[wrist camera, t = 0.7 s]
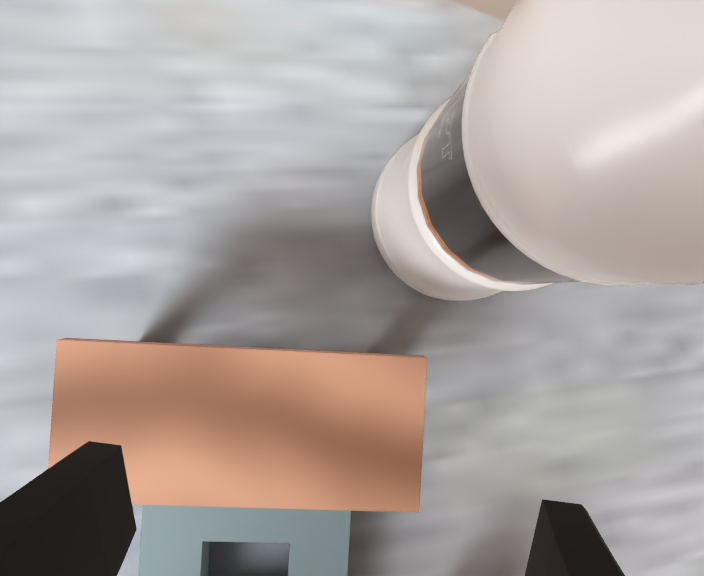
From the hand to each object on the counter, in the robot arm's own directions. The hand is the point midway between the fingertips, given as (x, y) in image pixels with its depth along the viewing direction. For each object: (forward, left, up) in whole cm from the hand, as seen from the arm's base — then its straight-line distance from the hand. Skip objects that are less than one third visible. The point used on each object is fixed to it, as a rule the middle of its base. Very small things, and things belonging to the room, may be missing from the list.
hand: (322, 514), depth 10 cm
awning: (-1, +3, -23) cm, 23 cm away
